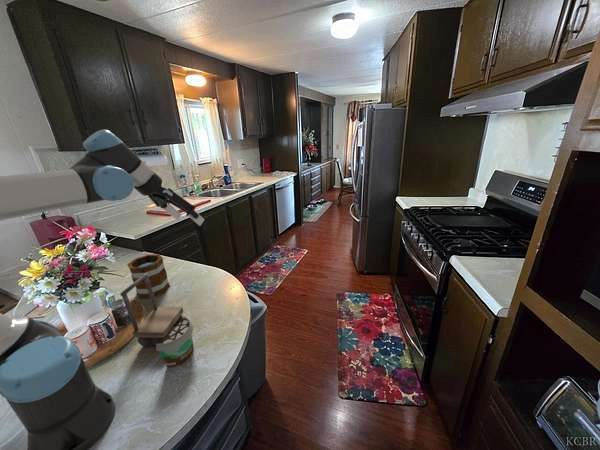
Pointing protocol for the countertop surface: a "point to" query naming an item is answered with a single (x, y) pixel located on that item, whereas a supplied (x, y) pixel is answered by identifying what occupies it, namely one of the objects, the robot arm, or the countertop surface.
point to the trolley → (152, 318)
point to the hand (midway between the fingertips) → (190, 219)
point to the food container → (177, 344)
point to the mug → (149, 275)
